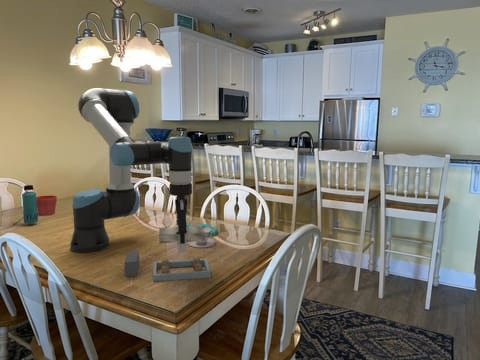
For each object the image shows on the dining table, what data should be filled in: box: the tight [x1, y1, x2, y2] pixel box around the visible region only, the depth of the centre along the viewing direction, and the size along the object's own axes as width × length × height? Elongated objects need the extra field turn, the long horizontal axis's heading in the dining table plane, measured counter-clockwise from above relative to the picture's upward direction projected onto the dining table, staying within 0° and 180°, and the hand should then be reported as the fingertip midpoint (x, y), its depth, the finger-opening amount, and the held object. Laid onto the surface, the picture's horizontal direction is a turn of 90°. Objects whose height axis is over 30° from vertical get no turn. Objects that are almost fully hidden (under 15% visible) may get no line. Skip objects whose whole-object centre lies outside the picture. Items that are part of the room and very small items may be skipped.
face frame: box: [152, 256, 212, 282], centre depth 128 cm, size 19×12×4 cm, turn 102°
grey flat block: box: [158, 225, 205, 244], centre depth 126 cm, size 15×8×3 cm, turn 102°
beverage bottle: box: [21, 184, 39, 224], centre depth 182 cm, size 6×7×20 cm
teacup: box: [187, 228, 216, 249], centre depth 159 cm, size 12×12×6 cm
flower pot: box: [36, 194, 58, 216], centre depth 204 cm, size 11×11×10 cm
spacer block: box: [123, 250, 140, 277], centre depth 129 cm, size 4×11×5 cm, turn 12°
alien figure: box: [186, 222, 219, 237], centre depth 174 cm, size 20×2×20 cm
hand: (181, 247), depth 127 cm, fingers closed on grey flat block, 8 cm apart
